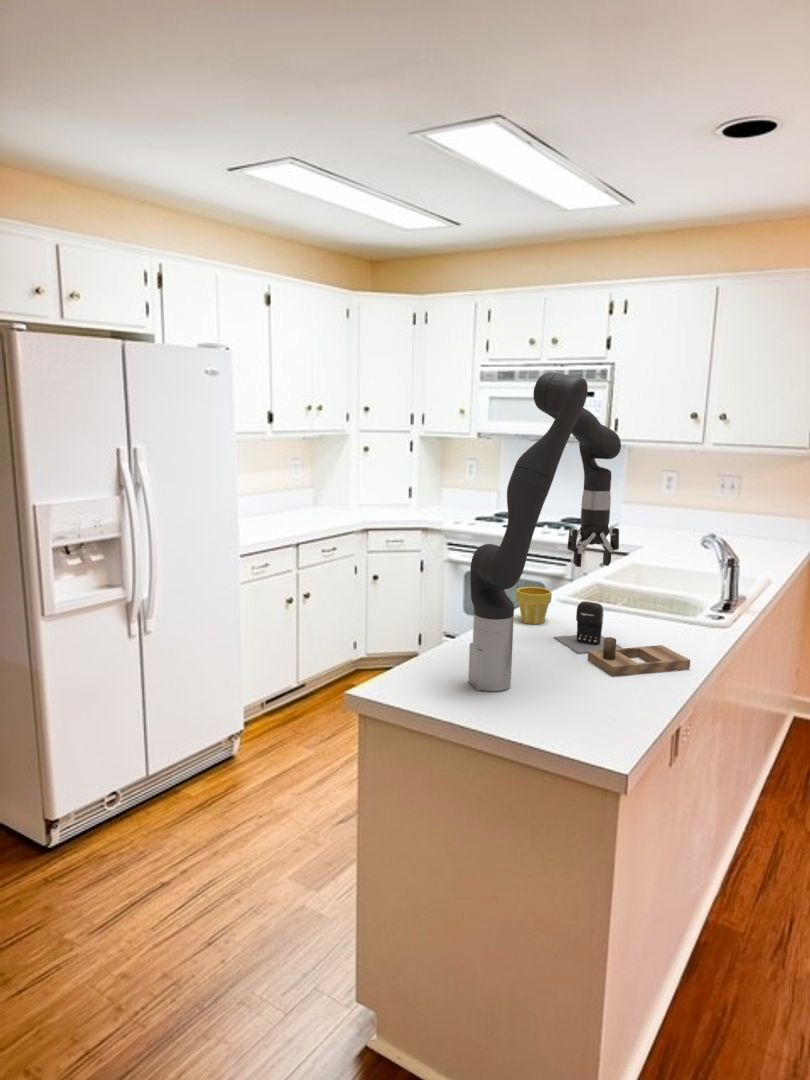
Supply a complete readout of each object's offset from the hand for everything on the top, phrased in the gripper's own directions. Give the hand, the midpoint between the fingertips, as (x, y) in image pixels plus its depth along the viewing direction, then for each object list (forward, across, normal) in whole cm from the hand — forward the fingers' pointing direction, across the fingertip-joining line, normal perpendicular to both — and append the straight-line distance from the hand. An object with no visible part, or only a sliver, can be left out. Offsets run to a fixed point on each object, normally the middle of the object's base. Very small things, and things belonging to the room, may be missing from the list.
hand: (592, 565), depth 200 cm
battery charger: (+22, 0, 0) cm, 22 cm away
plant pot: (+22, -5, +24) cm, 33 cm away
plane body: (+22, +4, -18) cm, 29 cm away
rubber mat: (+22, 0, 0) cm, 22 cm away
